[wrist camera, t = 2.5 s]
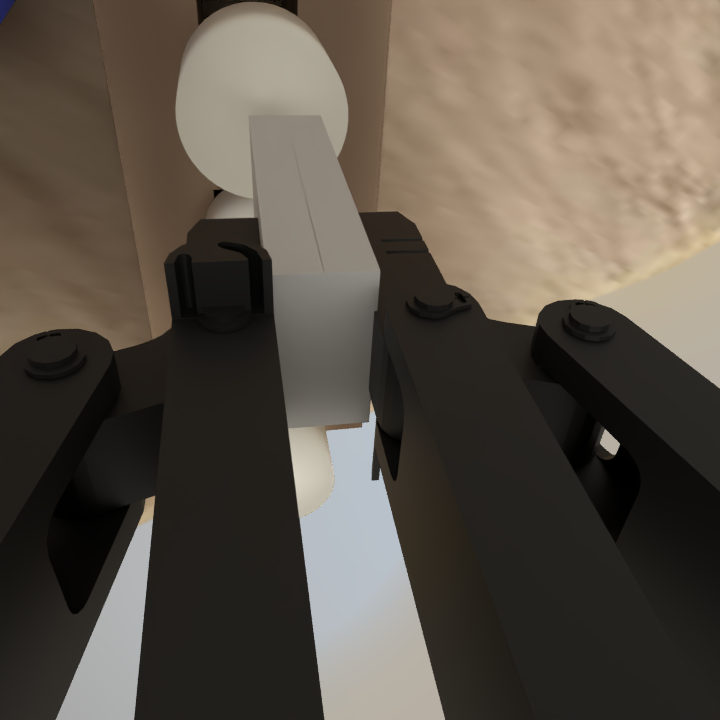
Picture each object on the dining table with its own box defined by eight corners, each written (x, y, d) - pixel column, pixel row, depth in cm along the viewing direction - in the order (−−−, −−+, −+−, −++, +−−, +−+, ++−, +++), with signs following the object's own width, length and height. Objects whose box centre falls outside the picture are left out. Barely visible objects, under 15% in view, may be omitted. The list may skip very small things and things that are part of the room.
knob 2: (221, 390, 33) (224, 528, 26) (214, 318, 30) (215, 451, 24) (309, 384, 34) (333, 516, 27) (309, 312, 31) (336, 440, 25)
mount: (175, 371, 39) (170, 444, 34) (95, -145, 24) (67, -142, 19) (344, 359, 40) (362, 427, 36) (365, -129, 26) (400, -124, 21)
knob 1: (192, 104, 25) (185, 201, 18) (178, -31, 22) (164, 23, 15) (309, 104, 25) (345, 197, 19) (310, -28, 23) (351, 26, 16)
